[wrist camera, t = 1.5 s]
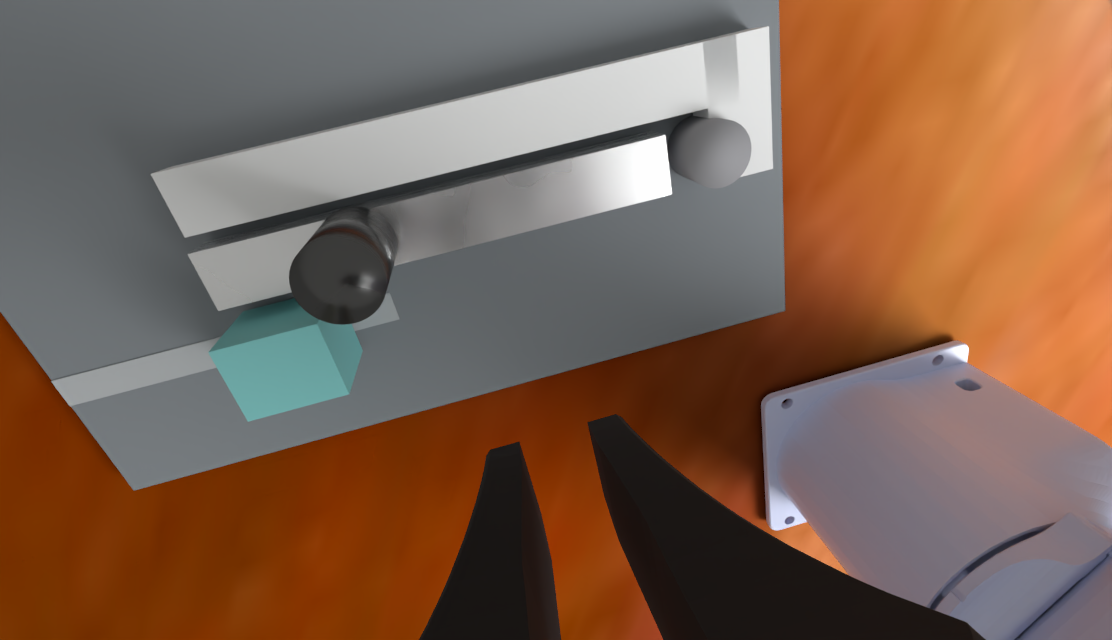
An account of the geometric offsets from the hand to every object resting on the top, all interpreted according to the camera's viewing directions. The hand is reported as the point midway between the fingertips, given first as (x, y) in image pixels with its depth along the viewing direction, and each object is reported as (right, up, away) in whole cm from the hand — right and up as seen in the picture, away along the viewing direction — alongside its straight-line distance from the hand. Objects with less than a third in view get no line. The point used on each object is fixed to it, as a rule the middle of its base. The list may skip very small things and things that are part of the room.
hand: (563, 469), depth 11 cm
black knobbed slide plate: (-4, +6, +6) cm, 9 cm away
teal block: (-9, +3, +7) cm, 12 cm away
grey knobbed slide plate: (-5, +7, +6) cm, 11 cm away
